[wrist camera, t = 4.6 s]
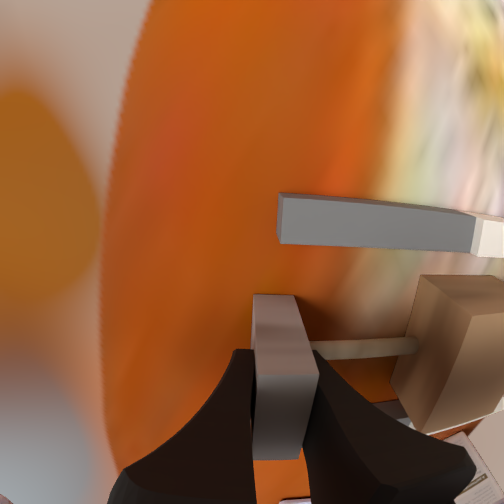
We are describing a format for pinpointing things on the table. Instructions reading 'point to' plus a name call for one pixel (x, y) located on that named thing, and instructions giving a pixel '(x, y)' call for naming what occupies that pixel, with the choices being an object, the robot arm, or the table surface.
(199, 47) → the table surface
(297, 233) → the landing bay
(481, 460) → the syrup box
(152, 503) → the robot arm
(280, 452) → the lopsided dumbbell
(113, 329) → the table surface
